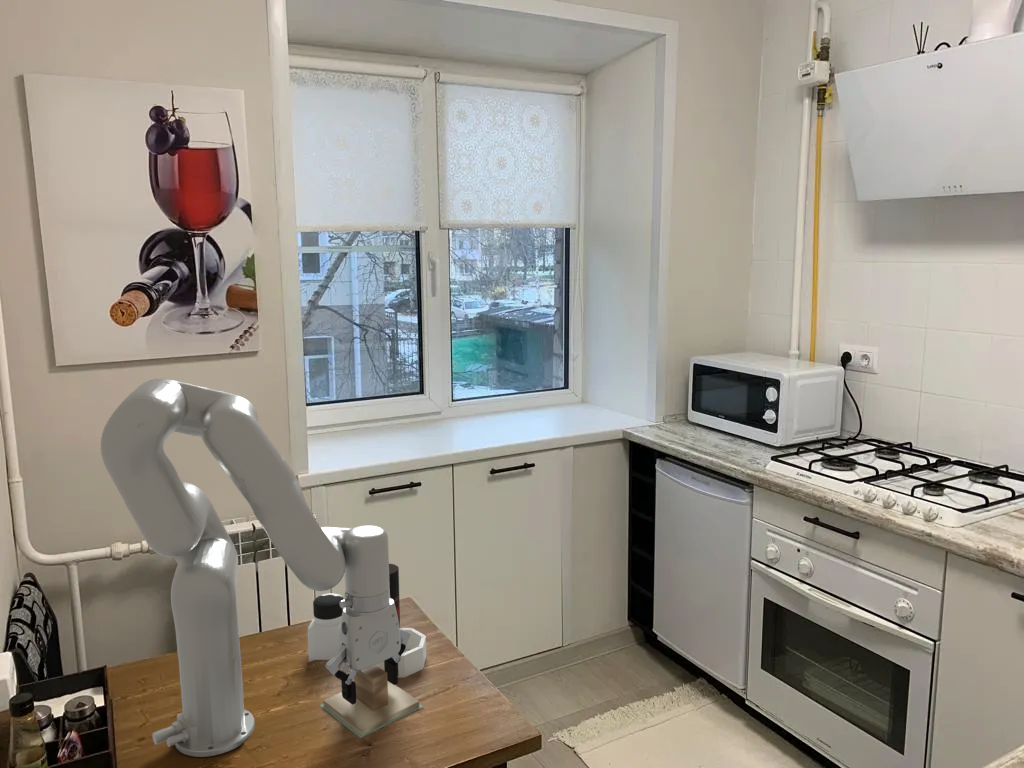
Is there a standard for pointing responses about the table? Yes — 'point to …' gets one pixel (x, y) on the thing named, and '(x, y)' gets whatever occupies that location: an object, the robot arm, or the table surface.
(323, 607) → the medicine bottle
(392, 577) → the deodorant
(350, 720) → the lid
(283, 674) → the table surface
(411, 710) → the mat
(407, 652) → the bowl
